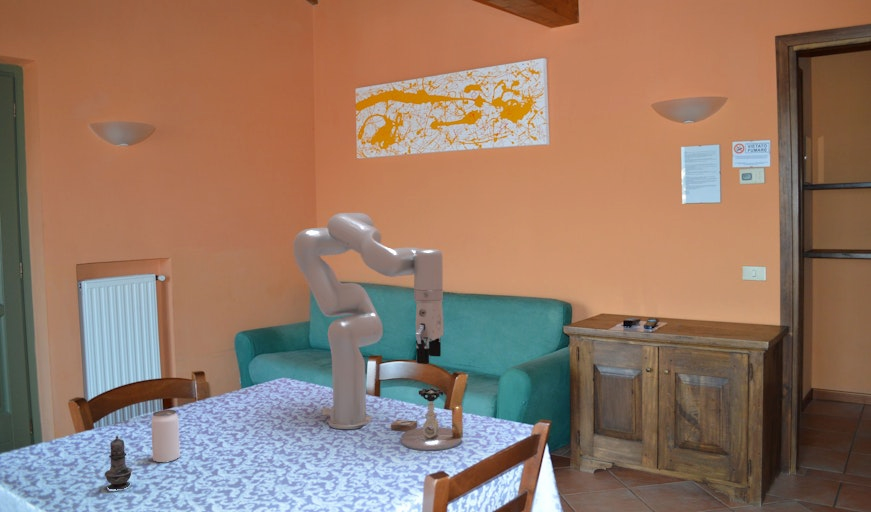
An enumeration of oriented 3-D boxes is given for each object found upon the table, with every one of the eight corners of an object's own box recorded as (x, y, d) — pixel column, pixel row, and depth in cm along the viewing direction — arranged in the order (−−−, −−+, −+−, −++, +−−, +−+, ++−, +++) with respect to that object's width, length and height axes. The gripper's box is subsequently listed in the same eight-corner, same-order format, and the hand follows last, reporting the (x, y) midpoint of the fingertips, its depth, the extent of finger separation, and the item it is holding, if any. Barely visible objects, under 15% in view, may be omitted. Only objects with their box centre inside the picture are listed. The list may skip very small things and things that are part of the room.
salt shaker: (110, 482, 167) (108, 432, 166) (136, 481, 167) (134, 431, 166) (100, 492, 161) (98, 440, 160) (128, 491, 161) (125, 438, 160)
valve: (444, 432, 194) (444, 388, 193) (442, 439, 187) (442, 394, 186) (420, 431, 194) (420, 387, 194) (416, 438, 188) (417, 393, 187)
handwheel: (437, 455, 179) (436, 418, 179) (388, 443, 189) (388, 408, 188) (473, 438, 192) (472, 404, 192) (426, 428, 202) (425, 395, 201)
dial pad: (391, 432, 201) (390, 423, 201) (397, 427, 206) (397, 418, 206) (411, 434, 199) (411, 425, 199) (417, 429, 204) (416, 420, 204)
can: (185, 456, 185) (183, 410, 184) (168, 464, 178) (166, 416, 178) (164, 453, 187) (162, 408, 186) (147, 461, 181) (145, 415, 180)
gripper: (431, 300, 180) (432, 367, 181) (451, 292, 197) (452, 354, 198) (403, 299, 183) (404, 365, 184) (425, 291, 199) (426, 352, 200)
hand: (429, 359), depth 191 cm, fingers open, 9 cm apart
